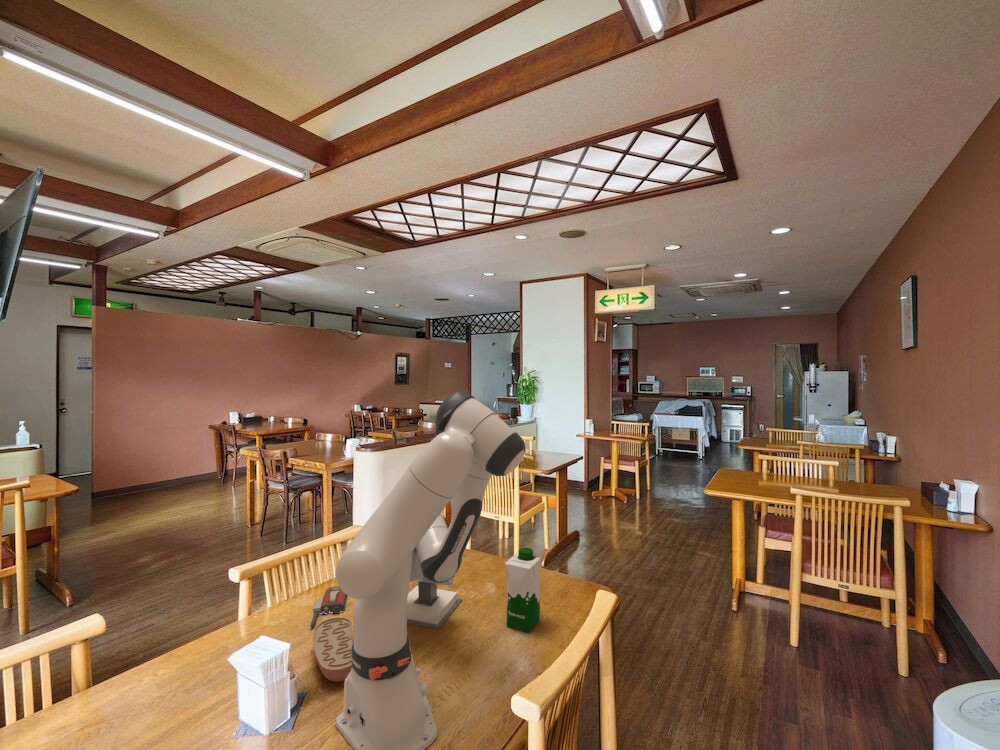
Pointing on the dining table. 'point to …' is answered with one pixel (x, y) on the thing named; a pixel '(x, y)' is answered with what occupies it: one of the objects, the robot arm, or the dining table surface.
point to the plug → (427, 593)
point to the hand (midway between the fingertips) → (428, 582)
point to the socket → (431, 608)
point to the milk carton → (523, 590)
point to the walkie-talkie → (330, 603)
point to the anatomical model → (334, 648)
